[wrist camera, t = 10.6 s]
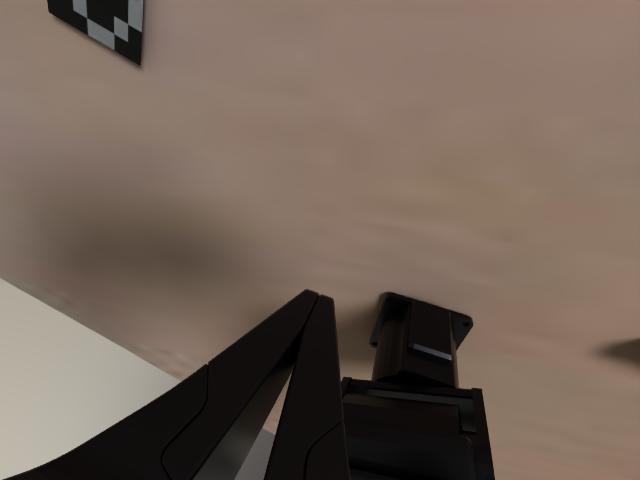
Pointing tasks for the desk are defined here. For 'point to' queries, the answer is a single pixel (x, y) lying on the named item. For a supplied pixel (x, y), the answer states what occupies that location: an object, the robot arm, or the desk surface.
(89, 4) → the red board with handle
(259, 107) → the desk surface
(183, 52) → the desk surface
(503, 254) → the desk surface
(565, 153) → the desk surface
